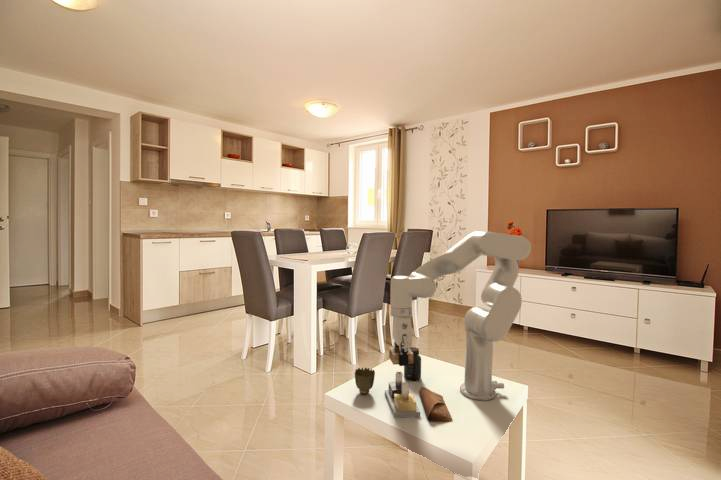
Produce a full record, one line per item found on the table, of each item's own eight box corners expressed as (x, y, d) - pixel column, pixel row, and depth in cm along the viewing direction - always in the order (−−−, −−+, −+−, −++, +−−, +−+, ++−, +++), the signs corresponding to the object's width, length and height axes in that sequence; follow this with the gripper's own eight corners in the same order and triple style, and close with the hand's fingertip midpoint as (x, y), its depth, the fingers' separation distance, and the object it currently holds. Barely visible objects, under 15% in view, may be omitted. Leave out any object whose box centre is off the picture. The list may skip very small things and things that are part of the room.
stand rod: (404, 390, 130) (405, 367, 129) (408, 398, 124) (409, 374, 123) (388, 390, 129) (389, 368, 129) (391, 398, 123) (392, 375, 123)
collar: (407, 356, 130) (408, 346, 130) (413, 363, 123) (413, 353, 123) (389, 357, 129) (389, 347, 129) (393, 364, 122) (393, 354, 122)
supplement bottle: (408, 373, 148) (409, 344, 148) (423, 377, 144) (424, 348, 144) (400, 378, 143) (401, 349, 142) (415, 383, 139) (416, 353, 138)
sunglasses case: (455, 422, 112) (444, 404, 111) (435, 433, 112) (425, 415, 112) (442, 395, 130) (433, 379, 129) (425, 404, 130) (416, 388, 130)
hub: (411, 402, 121) (411, 378, 120) (416, 411, 115) (416, 386, 115) (393, 402, 120) (394, 379, 120) (398, 412, 114) (398, 387, 114)
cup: (372, 399, 126) (373, 376, 125) (352, 396, 127) (352, 374, 127) (375, 389, 133) (376, 368, 133) (356, 387, 134) (357, 366, 134)
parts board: (407, 393, 130) (407, 389, 130) (420, 416, 115) (420, 412, 115) (384, 394, 129) (384, 390, 129) (394, 417, 114) (394, 413, 113)
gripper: (418, 317, 117) (418, 370, 118) (405, 305, 134) (405, 351, 135) (396, 318, 116) (396, 371, 117) (385, 306, 133) (385, 352, 134)
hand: (400, 360), depth 126 cm, fingers closed on collar, 7 cm apart
